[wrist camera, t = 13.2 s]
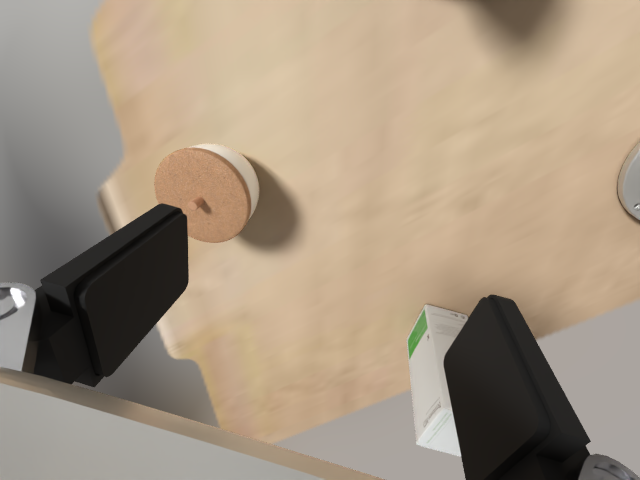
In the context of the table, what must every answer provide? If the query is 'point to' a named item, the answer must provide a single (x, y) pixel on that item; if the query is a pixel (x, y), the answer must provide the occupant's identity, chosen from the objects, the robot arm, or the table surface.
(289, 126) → the table surface
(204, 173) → the lidded jar
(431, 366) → the skincare box
